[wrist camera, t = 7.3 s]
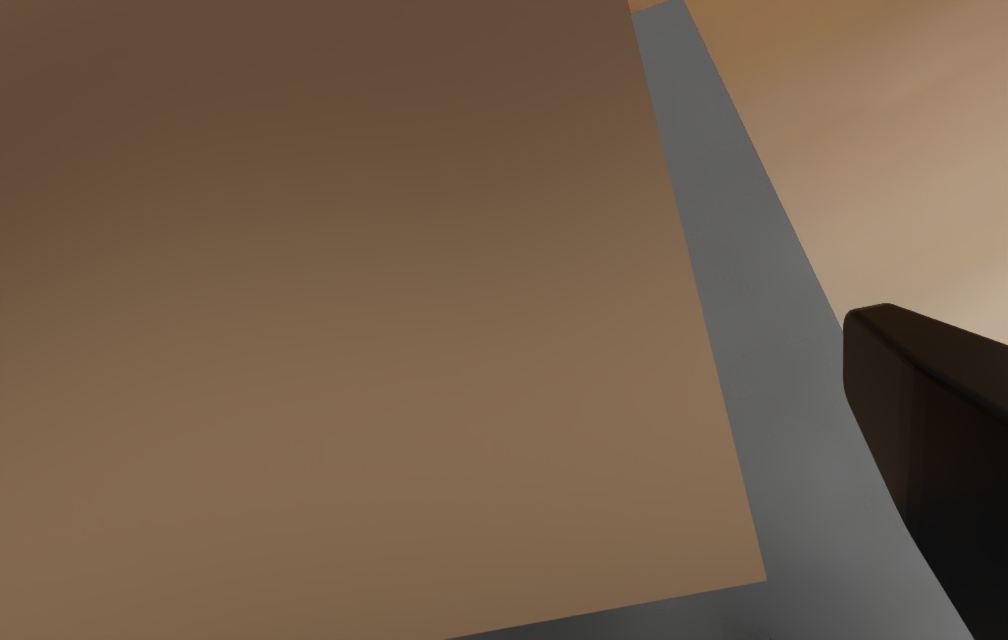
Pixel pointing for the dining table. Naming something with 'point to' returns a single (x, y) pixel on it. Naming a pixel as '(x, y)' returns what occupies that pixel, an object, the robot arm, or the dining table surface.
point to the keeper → (768, 400)
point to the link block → (346, 325)
